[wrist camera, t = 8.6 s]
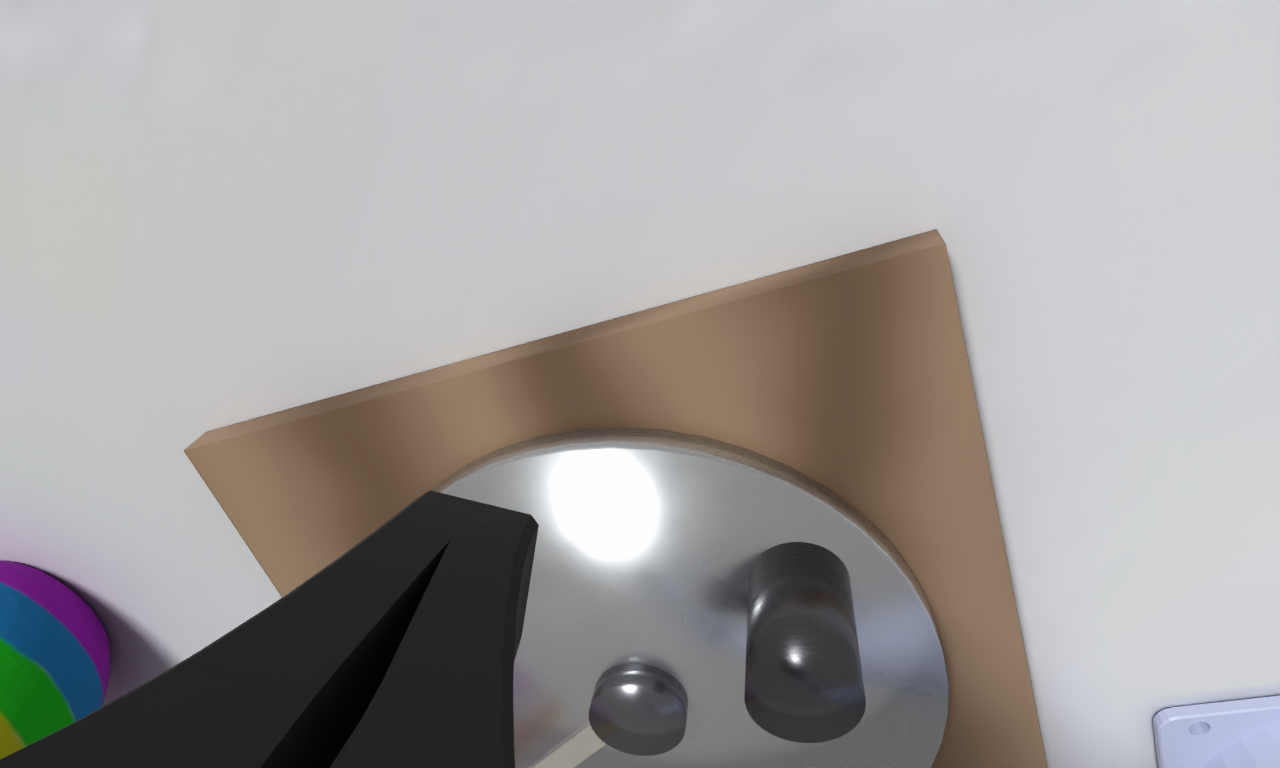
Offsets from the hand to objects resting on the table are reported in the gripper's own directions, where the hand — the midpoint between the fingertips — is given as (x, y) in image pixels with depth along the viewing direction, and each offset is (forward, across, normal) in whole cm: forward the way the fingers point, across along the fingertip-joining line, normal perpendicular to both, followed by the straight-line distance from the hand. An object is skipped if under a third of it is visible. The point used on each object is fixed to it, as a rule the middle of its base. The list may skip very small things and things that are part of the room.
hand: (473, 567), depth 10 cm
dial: (+9, -3, +11) cm, 15 cm away
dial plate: (+10, -3, +11) cm, 15 cm away
